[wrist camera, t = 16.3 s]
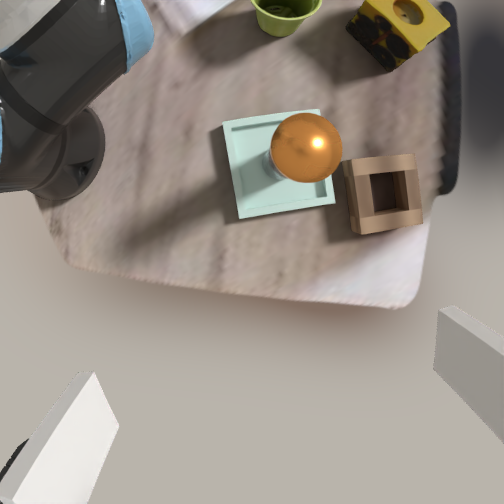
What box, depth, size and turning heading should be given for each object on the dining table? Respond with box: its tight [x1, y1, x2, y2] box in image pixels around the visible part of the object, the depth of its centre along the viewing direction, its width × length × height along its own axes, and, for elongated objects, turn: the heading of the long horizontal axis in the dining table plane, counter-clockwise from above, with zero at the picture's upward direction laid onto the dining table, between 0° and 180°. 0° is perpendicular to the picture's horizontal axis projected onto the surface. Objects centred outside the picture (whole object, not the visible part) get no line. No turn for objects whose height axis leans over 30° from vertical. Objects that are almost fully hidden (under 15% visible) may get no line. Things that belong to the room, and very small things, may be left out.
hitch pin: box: [262, 113, 342, 183], centre depth 32 cm, size 5×5×20 cm
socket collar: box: [342, 154, 423, 235], centre depth 42 cm, size 10×10×4 cm
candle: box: [346, 0, 450, 72], centre depth 34 cm, size 10×10×10 cm
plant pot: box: [250, 0, 322, 37], centre depth 34 cm, size 9×9×9 cm
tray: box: [222, 109, 335, 219], centre depth 42 cm, size 13×13×2 cm
